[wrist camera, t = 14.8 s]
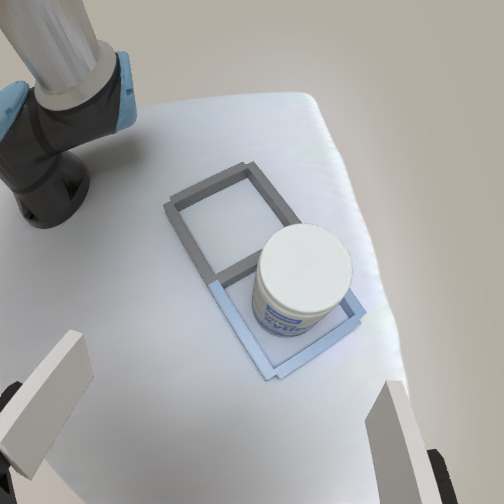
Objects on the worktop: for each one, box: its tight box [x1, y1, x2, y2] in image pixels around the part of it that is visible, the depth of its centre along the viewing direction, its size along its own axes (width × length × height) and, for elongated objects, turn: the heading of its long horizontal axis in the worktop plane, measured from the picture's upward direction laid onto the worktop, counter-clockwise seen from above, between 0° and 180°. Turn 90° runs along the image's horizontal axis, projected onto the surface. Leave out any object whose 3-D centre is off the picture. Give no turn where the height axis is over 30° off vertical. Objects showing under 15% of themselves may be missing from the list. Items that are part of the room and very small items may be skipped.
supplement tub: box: [252, 224, 353, 337], centre depth 37 cm, size 10×10×15 cm
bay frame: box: [163, 161, 367, 381], centre depth 45 cm, size 30×16×2 cm, turn 32°
